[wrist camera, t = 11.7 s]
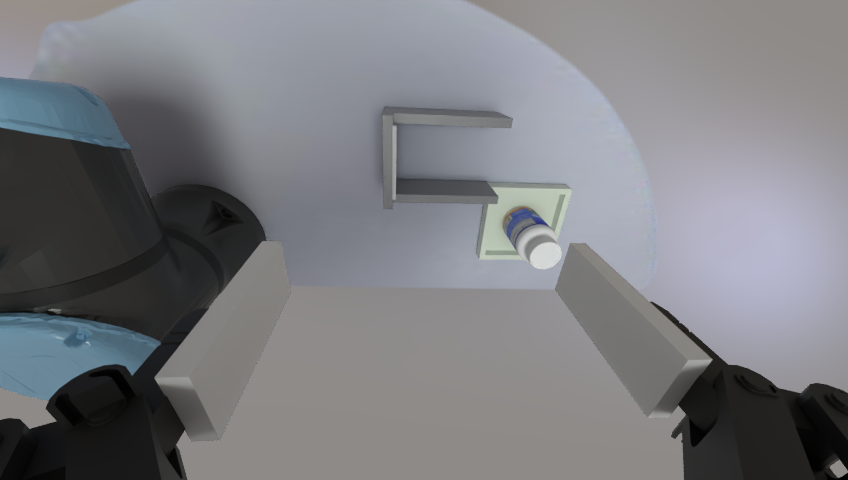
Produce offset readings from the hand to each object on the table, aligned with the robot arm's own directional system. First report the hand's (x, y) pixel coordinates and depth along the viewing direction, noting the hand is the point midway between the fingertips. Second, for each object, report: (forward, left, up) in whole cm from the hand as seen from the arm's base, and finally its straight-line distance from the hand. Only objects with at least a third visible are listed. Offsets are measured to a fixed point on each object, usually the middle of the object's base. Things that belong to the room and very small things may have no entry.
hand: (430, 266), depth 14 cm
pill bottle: (+17, -11, -28) cm, 35 cm away
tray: (+17, -11, -29) cm, 35 cm away
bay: (+4, -1, -29) cm, 29 cm away
